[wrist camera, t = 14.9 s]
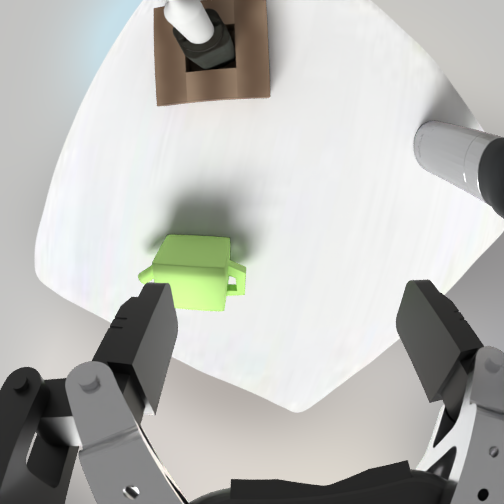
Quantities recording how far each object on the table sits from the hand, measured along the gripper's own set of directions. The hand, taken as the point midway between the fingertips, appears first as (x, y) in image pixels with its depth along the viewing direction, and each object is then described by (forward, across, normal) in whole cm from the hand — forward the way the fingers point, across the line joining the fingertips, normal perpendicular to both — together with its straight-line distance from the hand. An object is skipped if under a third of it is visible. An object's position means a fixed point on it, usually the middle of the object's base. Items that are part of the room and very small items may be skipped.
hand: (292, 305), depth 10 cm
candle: (+37, +7, -15) cm, 40 cm away
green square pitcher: (+38, +12, +20) cm, 44 cm away
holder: (+38, +7, -15) cm, 41 cm away
